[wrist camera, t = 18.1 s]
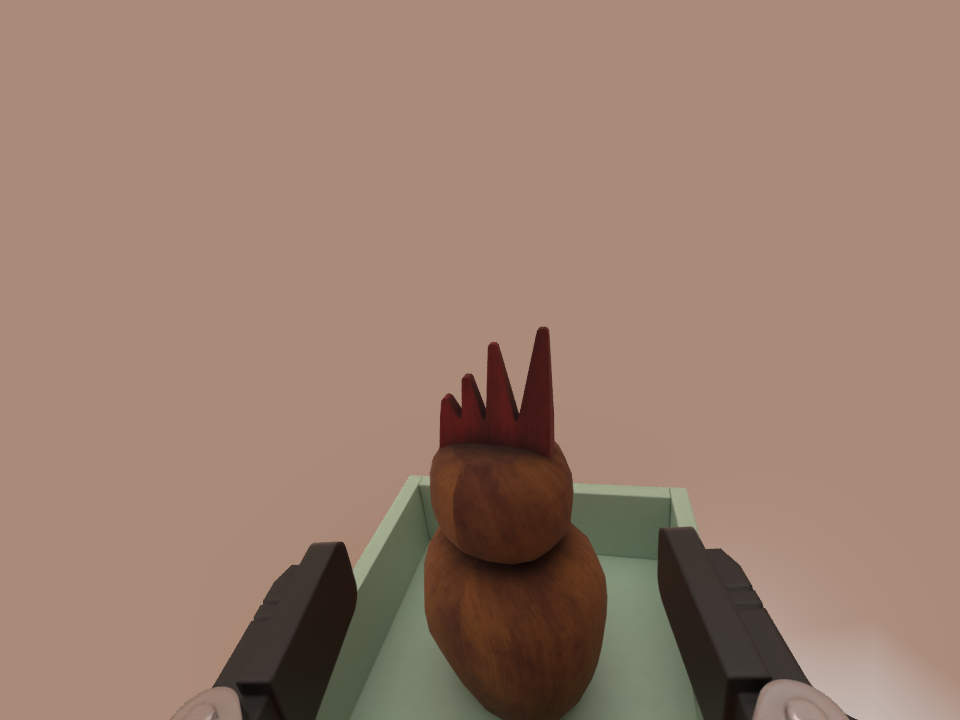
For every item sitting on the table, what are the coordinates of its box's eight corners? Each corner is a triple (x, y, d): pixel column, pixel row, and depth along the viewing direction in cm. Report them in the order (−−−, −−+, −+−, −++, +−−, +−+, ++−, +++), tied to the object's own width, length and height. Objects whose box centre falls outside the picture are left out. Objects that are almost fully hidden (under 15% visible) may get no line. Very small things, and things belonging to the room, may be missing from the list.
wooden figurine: (631, 660, 19) (632, 310, 13) (558, 804, 15) (517, 389, 9) (501, 585, 23) (461, 296, 18) (417, 680, 19) (332, 345, 14)
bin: (682, 562, 24) (686, 487, 22) (785, 1040, 11) (815, 949, 9) (423, 540, 28) (409, 474, 26) (268, 874, 15) (219, 788, 13)
